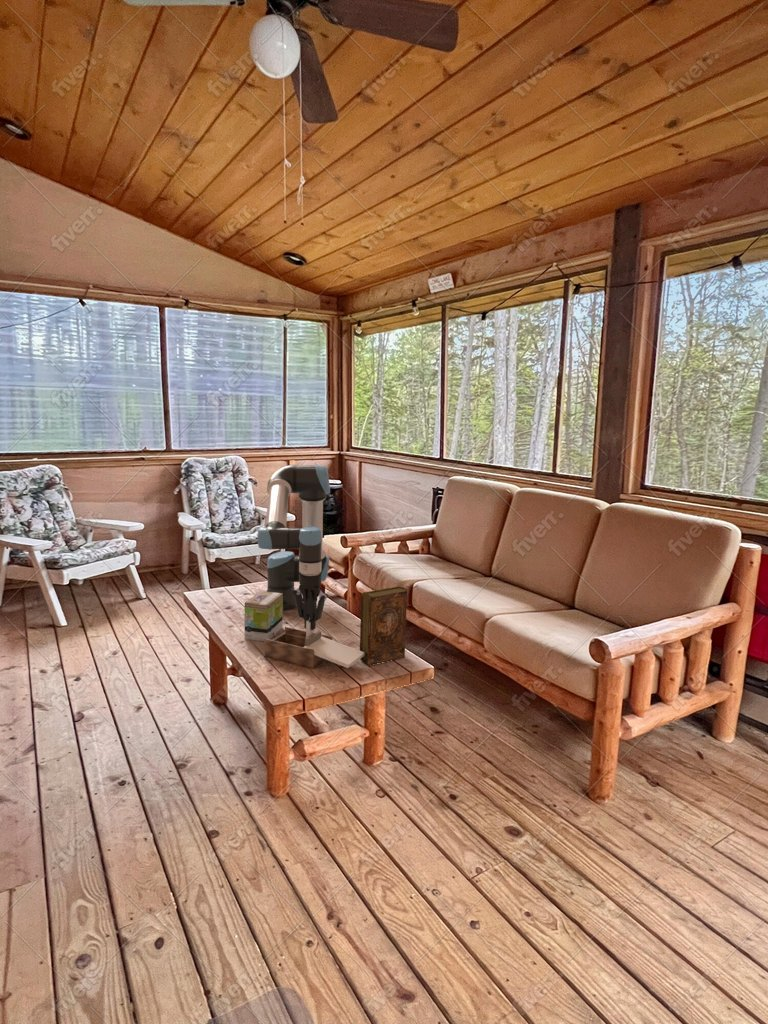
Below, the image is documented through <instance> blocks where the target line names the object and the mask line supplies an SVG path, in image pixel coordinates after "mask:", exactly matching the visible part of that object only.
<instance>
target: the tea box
mask: <svg viewBox="0 0 768 1024" xmlns="http://www.w3.org/2000/svg"><path fill="white" fill-rule="evenodd" d="M283 615H284V610H283V593H274V592H266V591H263V590H260V591H258V592H257V593H256V594H254V595H253V596H252V597H251V598H249V599H248V600H246V601H245V602H244V633H243V635H244V636H243V637H244V639H245V640H250V641H251V640H252V641H259V642H264V639H270V640H272V639H273V637H274V636H275V635H276V634H278V633H279V632H280V631H281V630H282V629H283V628H284V626H283V624H284V622H283V619H284V616H283Z"/></svg>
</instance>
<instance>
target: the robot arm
mask: <svg viewBox="0 0 768 1024" xmlns="http://www.w3.org/2000/svg"><path fill="white" fill-rule="evenodd" d="M328 471H329V470H328V467H327V466H325V465H318V464H306V465H305V464H289V465H284V466H282V467H280V468H279V469H277V470H276V471H275V472H273V473H272V475H271V476H270V478H269V480H268V482H267V484H266V485H267V487H266V492H267V495H268V499H267V507H266V508H267V509H266V515H265V516H266V518H265V525H264V527H259V528H258V530H257V545H258V546H257V547H258V548H260V550H286V551H279V552H275V553H272V554H270V555H269V556H268V557H267V564H266V568H267V587H266V588H267V589H266V591H265V592H274V593H283V611H286V610H292V609H295V608H297V612H298V616H299V619H301V618H302V619H303V622H304V623H303V624H304V625H303V627H304V629H305V631H306V638H307V637H308V636H310V635H312V634H313V633H315V632H314V631H315V630H316V627H317V626H316V623H317V621H318V620H320V619H322V615H323V611H324V606H325V602H326V600H327V598H328V594H327V593H324V592H323V590H322V586H321V584H322V582H325V581H326V580H327V577H328V574H329V573H328V572H329V564H330V557H329V555H327V553H326V551H325V549H323V538H324V535H323V534H324V533H323V530H324V526H323V525H324V523H323V522H324V520H323V519H324V516H323V515H324V514H323V513H324V501H325V500H326V499H327V497H328V496H327V495H330V494H331V486H330V476H329V472H328ZM291 494H298V499H299V500H300V501H301V502H302V505H301V507H302V509H301V510H302V516H301V519H302V522H301V523H302V526H301V527H287V523H288V522H287V521H288V520H287V518H288V509H289V507H288V506H289V497H290V495H291ZM287 550H288V551H287ZM289 550H299V553H298V555H295V552H294V551H289ZM295 583H299V585H298V587H297V588H296V589H295ZM318 599H319V600H318ZM317 601H318V602H317Z"/></svg>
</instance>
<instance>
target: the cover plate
mask: <svg viewBox="0 0 768 1024" xmlns="http://www.w3.org/2000/svg"><path fill="white" fill-rule="evenodd" d="M322 633H323V632H322V631H321V630H317V631H316V632H314V633H313V634H312V635H310V636H308V637H307V638H305V646H304V648H308V649H313V650H314V655H316V656H318V657H321V658H323V659H326V660H325V661H328V662H331V663H333V664H336V665H339V666H341V667H344V668H346V669H349V668H350V667H351V666H353V665H354V664H356V663H357V662H358V661H359V660H361V658H362V657H364V656H365V652H362V651H360V649H356V648H354V647H351V646H348V645H346V644H343V643H340V642H338V641H335V640H330V639H328V638H325V637H322V636H321V634H322Z"/></svg>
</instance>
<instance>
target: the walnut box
mask: <svg viewBox="0 0 768 1024" xmlns="http://www.w3.org/2000/svg"><path fill="white" fill-rule="evenodd" d="M321 636H322V637H325V638H328V639H330V640H333V638H334V637H333V636H330V635H325V634H322V633H321ZM305 638H306V630H303V629H297V628H293V627H288V626H285V627H284V632H282V633H280V634H279V635H276V636H275V637H274V638H273V637H272V638H271V639H264V641H263V643H264V645H263V646H264V658H266V659H270V660H275V661H279V662H282V663H285V664H286V663H287V664H290V665H291V664H292V665H294V666H299V667H302V668H307V669H311V670H314V669H315V668H317V667H318V666H319V665H320V664H322V663H324V662H325V661H327V660H326V659H323V658H321V657H318V656H316V655H314V650H313V649H308V648H304V646H305ZM333 641H334V640H333Z"/></svg>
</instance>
